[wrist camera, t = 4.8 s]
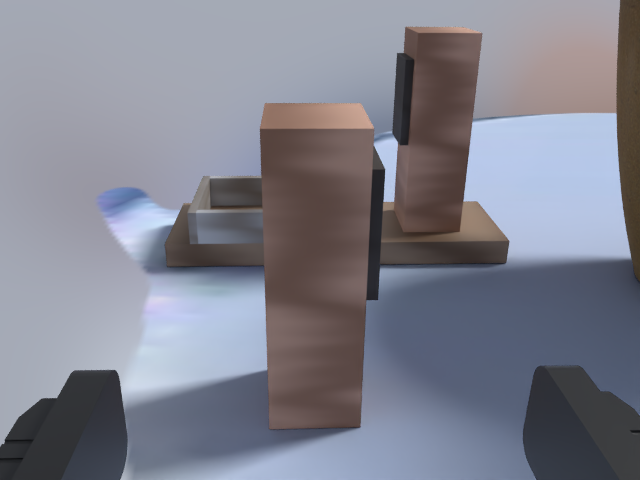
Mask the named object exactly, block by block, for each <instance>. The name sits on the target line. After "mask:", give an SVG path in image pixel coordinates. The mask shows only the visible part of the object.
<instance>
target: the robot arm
mask: <svg viewBox="0 0 640 480" xmlns="http://www.w3.org/2000/svg"><path fill="white" fill-rule="evenodd" d="M523 444H524V450H525V455H526V458H527V461H528V463H529V465H530V467H531V469H532V471H533V473H534V476H535V478H536V480H640V416H639V414H638V413H637V412H636V411H635V410H634V409H633V408H632V407H630V406H629V405H628V404H626V403H625V402H623V401H622V400H621V399H619V398H618V397H616V396H615V395H613V394H612V393H611V392H600V390H599V389H598V388H597V386H596V385H595V384H594V383H593V381H592V380H591V379H590V377H589V376H588V375H587V373H586V372H585V371H584V369H583V368H581V367H580V366H539V367H537V369H536V370H535V373H534V376H533V381H532V386H531V391H530V397H529V402H528V407H527V412H526V418H525V423H524V429H523ZM126 455H127V430H126V423H125V416H124V409H123V402H122V394H121V387H120V380H119V376H118V373H117V372H116V371H115V370H84V371H83V370H80V371H79V370H78V371H73V372H72V373H71V374H70V376H69V378H68V380H67V382H66V383H65V385H64V387H63V389H62V390H61V392H60V394H59V396H58V398H49V399H48V398H44V399H41V400H40V401H39V402H37V403H36V404H35V405H33V406H32V407H31V408H30V409H29V410H27V411H26V412H25V413H24V414H22V415H21V416H20V417H19V418H18V420H17V421H16V423H15V424H14V426H13V428H12V429H11V431H10V432H9V434H8V436H7V437H6V439H5V443H4V444H2V445H1V447H0V480H120V479H121V476H122V473H123V470H124V466H125V462H126Z"/></svg>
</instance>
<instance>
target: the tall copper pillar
mask: <svg viewBox="0 0 640 480" xmlns="http://www.w3.org/2000/svg"><path fill="white" fill-rule="evenodd" d="M260 139H261V140H260V144H261V177H262V209H263V240H264V272H265V304H266V335H267V367H268V399H269V429H304V428H347V427H360V423H361V401H362V380H363V359H364V337H365V316H366V300H378V289H379V271H380V253H381V235H382V217H383V199H384V181H385V168H384V166H383V164H382V162H381V160H380V158H379V155H378V153H377V151H376V149H375V147H374V146H373V145H374V127H373V125H372V123H371V122H370V120H369V118H368V116H367V114H366V112H365V110H364V109H363V107H362V105H361V104H360V103H350V104H349V103H348V104H347V103H341V104H340V103H323V104H322V103H265V106H264V111H263V116H262V121H261V126H260Z"/></svg>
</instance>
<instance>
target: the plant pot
mask: <svg viewBox="0 0 640 480" xmlns="http://www.w3.org/2000/svg"><path fill="white" fill-rule="evenodd" d="M617 140H618V158H619V172H620V183H621V194H622V202H623V210H624V217H625V224H626V231H627V236H628V242H629V247H630V253H631V258H632V263H633V268H634V272H635V276H636V277H637V279H638V280H639V282H640V0H620V13H619V33H618V58H617Z"/></svg>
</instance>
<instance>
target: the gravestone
mask: <svg viewBox="0 0 640 480" xmlns="http://www.w3.org/2000/svg"><path fill="white" fill-rule="evenodd" d="M481 41H482V33H480V32H477V31H474V30H471V29H467V28H464V27H406V28H405V42H404V53H397V64H396V65H397V66H396V81H395V100H394V115H393V132H392V133H393V135H394V137H395V138H396V140H397V141H398V151H397V167H396V183H395V198H394V202H383V217H382V235H381V253H380V264H451V263H506V260H507V254H508V247H509V240H508V239H507V237H506V236H505V235H504V234H503V233H502V231H501V230H500V229H499V228H498V226H497V225H496V224H495V223H494V222H493V220H492V219H491V218H490V217H489V215H488V214H487V213H486V212H485V210H484V209H483V208H482V207H481V206H480V204H479V203H478V202H463V199H464V190H465V182H466V173H467V164H468V155H469V146H470V138H471V129H472V120H473V111H474V102H475V93H476V84H477V76H478V66H479V58H480V50H481ZM165 251H166V261H167V267H176V266H264V240H263V209H262V177H261V176H203V178H202V180H201V182H200V185H199V187H198V189H197V192H196V194H195V196H194V199H193V201H192V203H184V204H183V206H182V208H181V210H180V213H179V215H178V217H177V219H176V221H175V223H174V225H173V228H172V230H171V232H170V234H169V236H168V238H167V241H166V243H165Z"/></svg>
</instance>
